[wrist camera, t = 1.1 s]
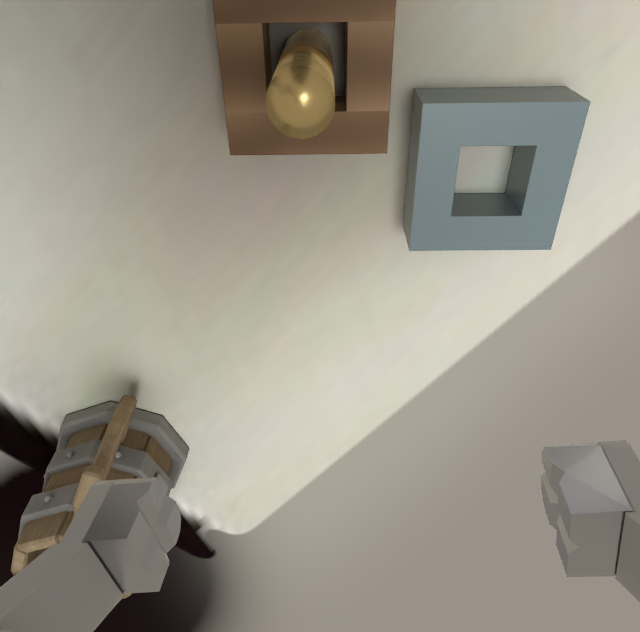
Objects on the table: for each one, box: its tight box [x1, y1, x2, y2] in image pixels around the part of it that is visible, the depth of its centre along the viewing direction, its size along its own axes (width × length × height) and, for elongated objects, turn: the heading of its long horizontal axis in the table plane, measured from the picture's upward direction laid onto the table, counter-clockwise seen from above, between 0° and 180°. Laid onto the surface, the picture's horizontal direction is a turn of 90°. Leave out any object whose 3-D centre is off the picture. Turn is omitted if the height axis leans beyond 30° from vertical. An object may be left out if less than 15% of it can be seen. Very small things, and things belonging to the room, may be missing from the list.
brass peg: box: [266, 29, 335, 139], centre depth 29 cm, size 3×3×12 cm
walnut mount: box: [213, 0, 396, 155], centre depth 33 cm, size 10×10×4 cm
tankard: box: [11, 395, 189, 599], centre depth 48 cm, size 20×13×15 cm, turn 157°
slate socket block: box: [403, 86, 590, 251], centre depth 36 cm, size 10×10×4 cm
